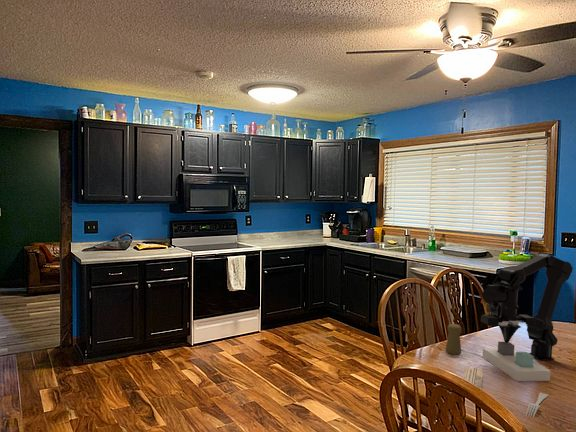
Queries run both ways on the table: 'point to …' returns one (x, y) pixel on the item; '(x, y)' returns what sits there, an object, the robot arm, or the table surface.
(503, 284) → the robot arm
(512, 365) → the white socket board
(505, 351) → the dark grey cube
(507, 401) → the table surface
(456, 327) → the olive brown upright piece
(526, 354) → the teal green cube
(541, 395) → the fork
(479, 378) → the newspaper
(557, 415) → the table surface
